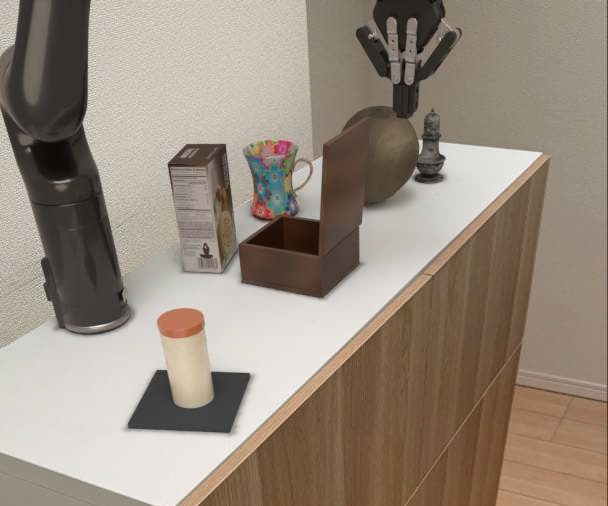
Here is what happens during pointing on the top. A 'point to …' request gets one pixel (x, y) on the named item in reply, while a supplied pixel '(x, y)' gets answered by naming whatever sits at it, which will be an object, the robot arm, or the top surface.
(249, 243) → the chest
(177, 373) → the canister
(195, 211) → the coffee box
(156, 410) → the mat
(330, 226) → the lid
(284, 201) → the mug
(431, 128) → the salt shaker
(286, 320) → the top surface
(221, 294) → the top surface
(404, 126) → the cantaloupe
